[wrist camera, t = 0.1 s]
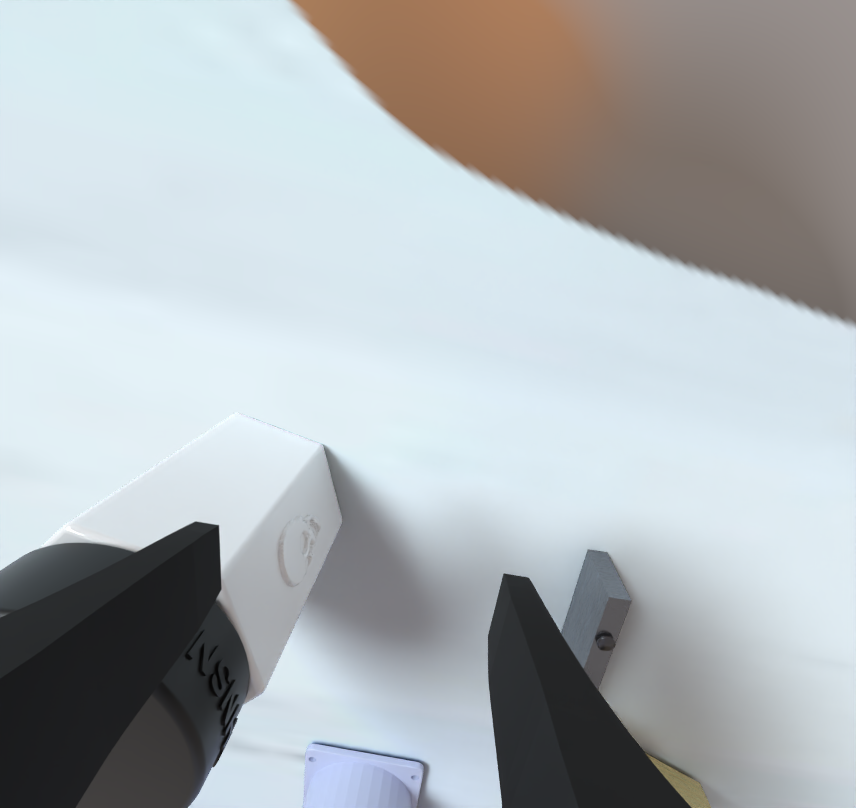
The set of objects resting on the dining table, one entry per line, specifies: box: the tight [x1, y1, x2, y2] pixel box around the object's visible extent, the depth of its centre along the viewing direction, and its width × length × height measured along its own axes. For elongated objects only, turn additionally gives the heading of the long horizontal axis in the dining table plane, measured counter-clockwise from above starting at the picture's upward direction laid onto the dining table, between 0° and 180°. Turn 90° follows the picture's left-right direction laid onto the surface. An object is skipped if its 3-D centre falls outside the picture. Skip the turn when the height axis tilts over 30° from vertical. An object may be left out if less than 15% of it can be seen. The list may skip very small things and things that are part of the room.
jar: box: [0, 413, 343, 808], centre depth 16 cm, size 9×8×12 cm
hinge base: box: [561, 550, 631, 689], centre depth 20 cm, size 12×3×7 cm, turn 173°
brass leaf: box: [645, 753, 711, 808], centre depth 23 cm, size 9×1×5 cm, turn 57°
